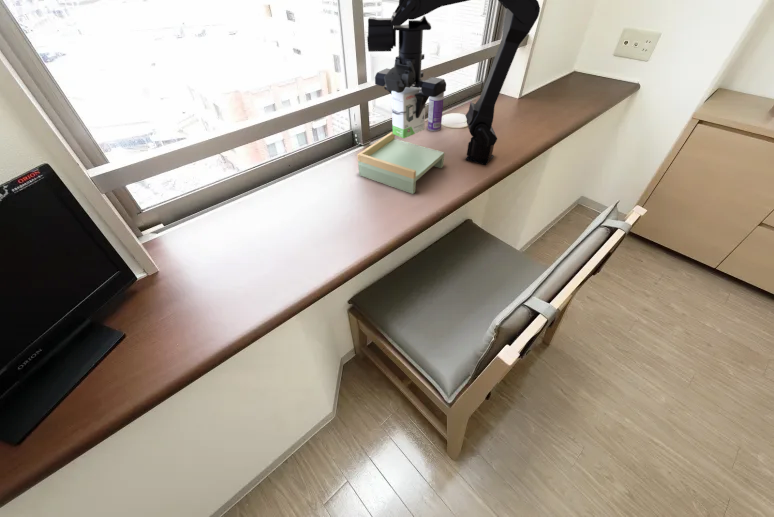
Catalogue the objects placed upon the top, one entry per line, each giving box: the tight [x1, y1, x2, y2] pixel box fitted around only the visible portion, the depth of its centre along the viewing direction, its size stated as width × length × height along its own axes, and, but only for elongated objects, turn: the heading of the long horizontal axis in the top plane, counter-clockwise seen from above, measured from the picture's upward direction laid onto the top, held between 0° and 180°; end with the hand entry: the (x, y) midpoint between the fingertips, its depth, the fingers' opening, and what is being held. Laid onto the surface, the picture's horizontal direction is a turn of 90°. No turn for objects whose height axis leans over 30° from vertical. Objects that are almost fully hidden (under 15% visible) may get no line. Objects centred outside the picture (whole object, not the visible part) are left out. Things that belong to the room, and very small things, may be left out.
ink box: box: [391, 86, 427, 139], centre depth 93 cm, size 9×5×12 cm, turn 131°
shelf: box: [357, 131, 446, 195], centre depth 96 cm, size 18×17×6 cm
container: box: [427, 91, 445, 132], centre depth 113 cm, size 5×5×15 cm
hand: (408, 115), depth 94 cm, fingers closed on ink box, 5 cm apart
